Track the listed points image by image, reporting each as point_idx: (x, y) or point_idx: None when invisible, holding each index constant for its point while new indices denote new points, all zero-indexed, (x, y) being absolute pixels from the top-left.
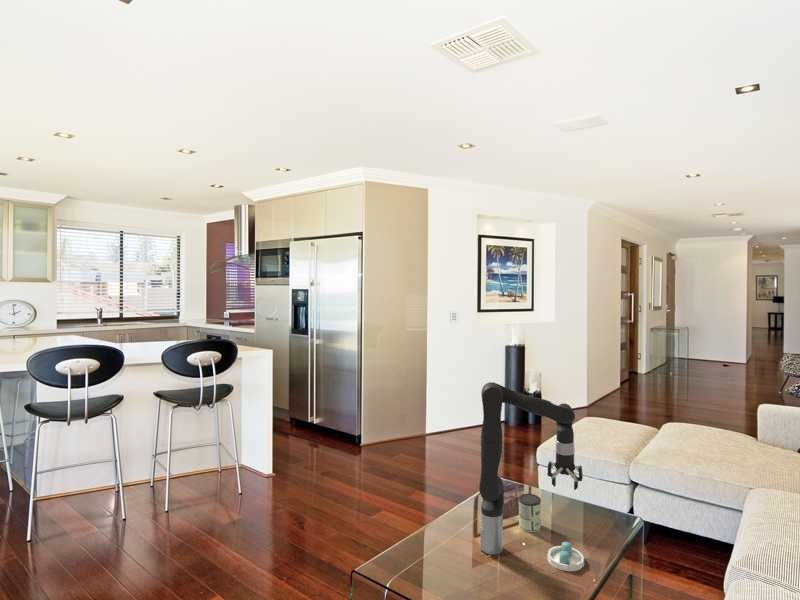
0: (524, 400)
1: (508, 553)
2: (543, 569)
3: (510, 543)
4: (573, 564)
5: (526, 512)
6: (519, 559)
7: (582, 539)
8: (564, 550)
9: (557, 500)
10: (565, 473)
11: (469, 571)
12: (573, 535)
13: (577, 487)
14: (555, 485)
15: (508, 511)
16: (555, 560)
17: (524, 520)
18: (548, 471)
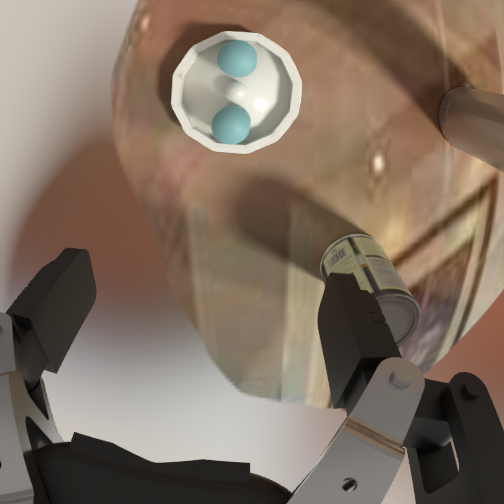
0: None
1: (422, 98)
2: (310, 25)
3: (416, 156)
4: (205, 46)
5: (387, 271)
6: (390, 68)
7: (188, 234)
8: (239, 108)
9: (267, 385)
10: (126, 481)
11: (496, 16)
12: (217, 248)
13: (40, 270)
14: (320, 305)
15: None
16: (271, 51)
17: (382, 255)
18: (496, 444)
